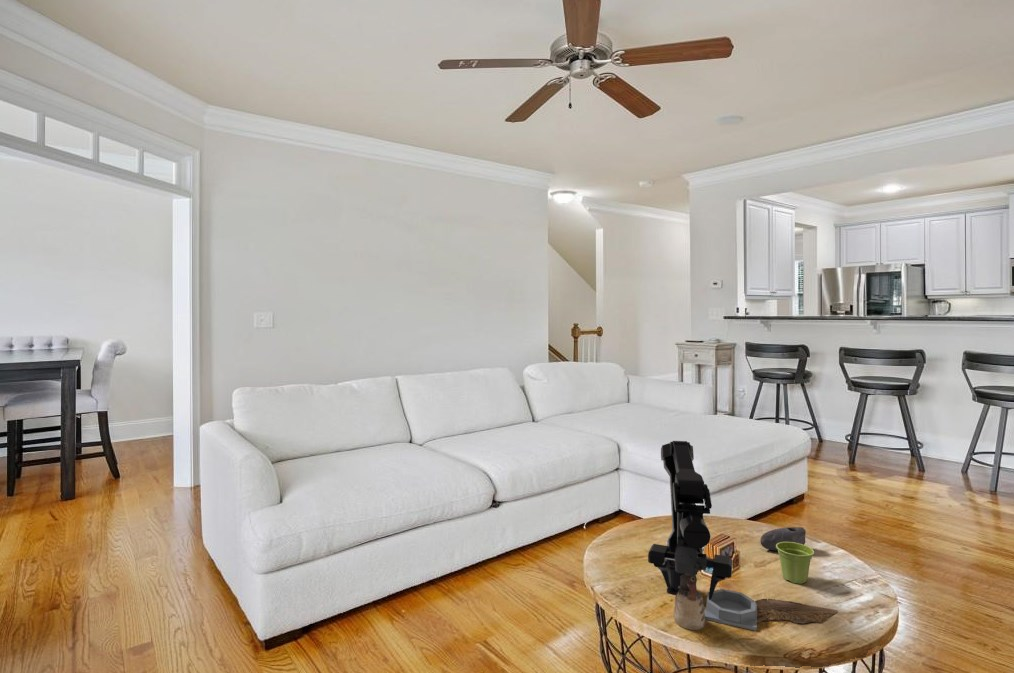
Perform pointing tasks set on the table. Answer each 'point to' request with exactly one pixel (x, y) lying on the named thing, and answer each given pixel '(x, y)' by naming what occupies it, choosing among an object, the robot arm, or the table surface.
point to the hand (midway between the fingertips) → (689, 595)
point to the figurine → (689, 604)
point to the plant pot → (794, 561)
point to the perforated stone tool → (783, 537)
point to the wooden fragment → (791, 611)
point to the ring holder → (732, 609)
